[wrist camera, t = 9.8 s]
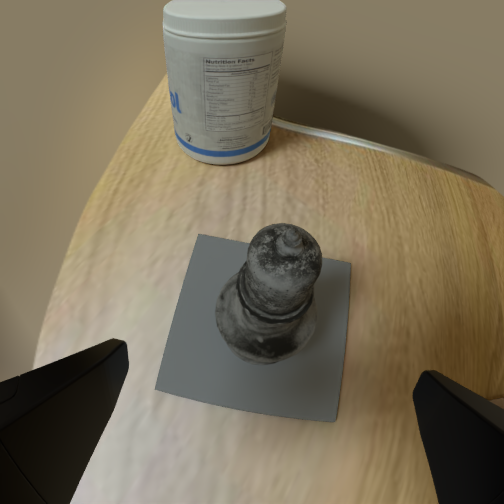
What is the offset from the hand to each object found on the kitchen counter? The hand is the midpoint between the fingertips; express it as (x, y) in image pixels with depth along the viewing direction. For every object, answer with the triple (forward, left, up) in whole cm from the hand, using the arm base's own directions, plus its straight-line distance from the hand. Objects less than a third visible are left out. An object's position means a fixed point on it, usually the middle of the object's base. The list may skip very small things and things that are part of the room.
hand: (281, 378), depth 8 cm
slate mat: (+5, 0, -12) cm, 13 cm away
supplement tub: (+23, +7, -12) cm, 27 cm away
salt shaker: (+5, 0, -12) cm, 13 cm away
